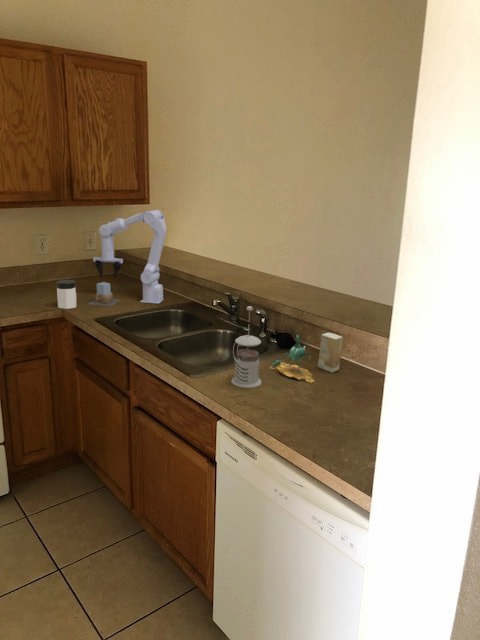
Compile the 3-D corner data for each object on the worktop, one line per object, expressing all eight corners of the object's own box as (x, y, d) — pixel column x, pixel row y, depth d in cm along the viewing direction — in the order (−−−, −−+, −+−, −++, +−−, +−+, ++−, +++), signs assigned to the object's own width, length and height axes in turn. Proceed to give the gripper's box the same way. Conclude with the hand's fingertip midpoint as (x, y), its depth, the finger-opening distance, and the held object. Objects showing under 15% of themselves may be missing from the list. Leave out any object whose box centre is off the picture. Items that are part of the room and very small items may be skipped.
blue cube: (110, 293, 252) (110, 283, 250) (103, 295, 248) (103, 285, 246) (103, 292, 254) (103, 282, 252) (96, 294, 250) (96, 283, 248)
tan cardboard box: (112, 300, 254) (112, 296, 254) (108, 303, 249) (107, 299, 248) (101, 299, 255) (100, 295, 255) (95, 302, 250) (95, 298, 249)
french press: (242, 390, 161) (246, 312, 154) (221, 377, 170) (224, 303, 163) (267, 383, 167) (272, 307, 160) (246, 371, 176) (249, 299, 169)
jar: (76, 309, 239) (75, 283, 236) (57, 309, 237) (55, 283, 234) (77, 304, 248) (75, 279, 244) (58, 304, 246) (57, 279, 242)
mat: (120, 300, 257) (120, 299, 257) (111, 306, 246) (111, 305, 246) (97, 298, 259) (97, 297, 258) (87, 304, 247) (87, 304, 247)
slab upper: (112, 296, 254) (112, 292, 253) (107, 299, 248) (107, 295, 248) (100, 295, 255) (100, 291, 254) (95, 298, 249) (95, 294, 248)
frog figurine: (284, 362, 186) (290, 324, 180) (322, 384, 173) (330, 344, 168) (264, 368, 179) (270, 328, 174) (302, 391, 167) (310, 349, 162)
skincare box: (317, 367, 182) (320, 334, 178) (325, 364, 185) (328, 331, 181) (332, 373, 178) (335, 338, 174) (340, 370, 181) (343, 336, 177)
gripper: (124, 248, 259) (125, 275, 263) (96, 247, 261) (97, 273, 265) (119, 251, 252) (120, 278, 256) (91, 249, 254) (92, 276, 258)
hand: (108, 276), depth 260 cm, fingers open, 7 cm apart
